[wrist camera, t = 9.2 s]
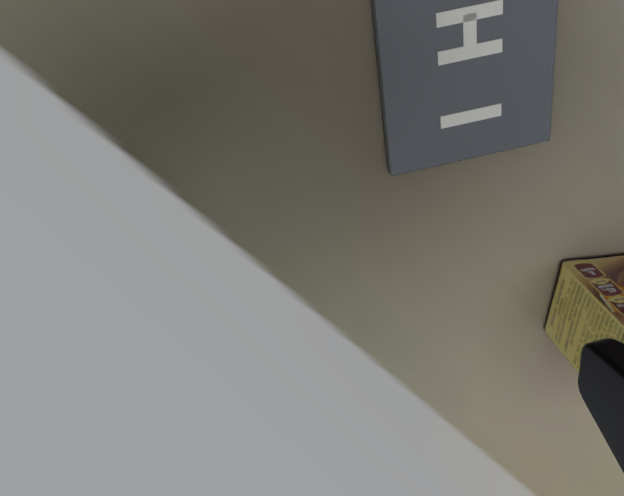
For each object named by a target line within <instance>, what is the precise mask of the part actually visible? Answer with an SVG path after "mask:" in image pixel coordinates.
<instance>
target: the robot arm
mask: <svg viewBox="0 0 624 496" xmlns="http://www.w3.org/2000/svg"><path fill="white" fill-rule="evenodd" d="M578 386H579V391H580V393H581V396H582V398H583V400H584V402H585V403H586V405H587V407H588V409H589V411H590V413H591V414H592V416H593V418H594V420H595V422H596V423H597V425H598V427H599V429H600V431H601V433H602V434H603V436H604V438H605V440H606V442H607V443H608V445H609V447H610V449H611V451H612V453H613V454H614V456H615V458H616V460H617V462H618V463H619V465H620V467H621V469H622V471H623V472H624V343H622V342H620V341H618V340H615V339H612V338H605V339H601V340H597V341H593V342H589V343H586V344H585V345H584V346H583V348H582V351H581V359H580V368H579V377H578Z"/></svg>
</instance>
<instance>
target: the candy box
mask: <svg viewBox="0 0 624 496" xmlns="http://www.w3.org/2000/svg"><path fill="white" fill-rule="evenodd" d="M545 332H546V333H547V335H548V336H549V337H550V338H551V340H552V341H553V342H554V343H555V345H556V346H557V347H558V349H559V350H560V351H561V352H562V353H563V355H564V356H565V357H566V358H567V360H568V361H569V362H570V363H571V365H572V366H573V367H574V368H575V370H576V371H577V372H578V373H579V368H580V359H581V351H582V348H583V346H584V345H585V344H586V343H589V342H593V341H597V340H601V339H605V338H612V339H615V340H618V341H620V342H622V343H624V255H623V256H614V257H606V258H596V259H586V260H584V259H576V260H566V261H563V262H562V265H561V269H560V274H559V278H558V282H557V286H556V290H555V293H554V297H553V300H552V304H551V308H550V311H549V315H548V319H547V323H546V326H545Z"/></svg>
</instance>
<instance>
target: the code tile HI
mask: <svg viewBox="0 0 624 496" xmlns="http://www.w3.org/2000/svg"><path fill="white" fill-rule="evenodd" d="M372 9H373V19H374V30H375V40H376V50H377V61H378V71H379V81H380V92H381V102H382V112H383V123H384V133H385V143H386V154H387V164H388V172H389V173H390V175H391V176H394V175H398V174H402V173H407V172H411V171H416V170H420V169H425V168H429V167H433V166H438V165H442V164H447V163H451V162H456V161H460V160H464V159H469V158H473V157H478V156H482V155H487V154H491V153H495V152H500V151H504V150H509V149H513V148H518V147H522V146H526V145H531V144H535V143H540V142H544V141H549V140H550V125H551V109H552V93H553V76H554V60H555V44H556V27H557V11H558V0H372Z"/></svg>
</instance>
